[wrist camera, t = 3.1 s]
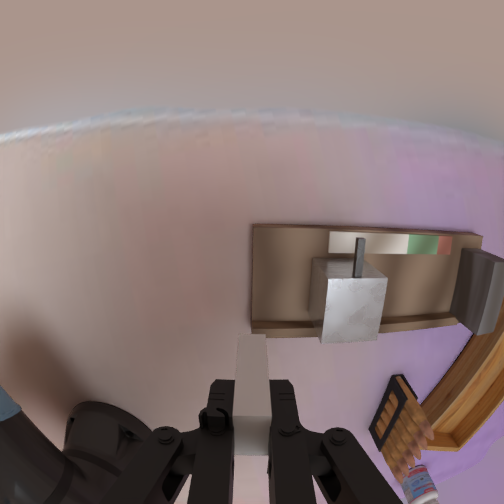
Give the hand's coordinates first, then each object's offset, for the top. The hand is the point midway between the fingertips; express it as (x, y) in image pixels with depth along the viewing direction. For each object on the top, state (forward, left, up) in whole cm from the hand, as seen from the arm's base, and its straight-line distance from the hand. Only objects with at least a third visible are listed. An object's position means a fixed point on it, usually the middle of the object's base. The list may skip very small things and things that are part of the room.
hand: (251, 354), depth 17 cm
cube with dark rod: (+8, +1, -12) cm, 14 cm away
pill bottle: (+33, -43, -14) cm, 56 cm away
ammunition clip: (+19, -19, -14) cm, 31 cm away
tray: (+37, -15, -15) cm, 43 cm away
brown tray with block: (+14, 0, -14) cm, 20 cm away
